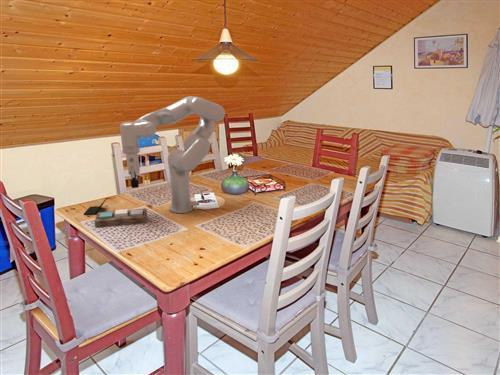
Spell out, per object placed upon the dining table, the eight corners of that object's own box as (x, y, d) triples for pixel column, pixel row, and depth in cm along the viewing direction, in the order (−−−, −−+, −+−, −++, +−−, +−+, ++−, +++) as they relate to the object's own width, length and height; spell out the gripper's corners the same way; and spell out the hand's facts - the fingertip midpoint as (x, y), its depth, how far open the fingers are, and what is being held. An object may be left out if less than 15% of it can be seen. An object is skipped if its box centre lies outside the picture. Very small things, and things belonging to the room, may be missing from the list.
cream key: (128, 213, 186) (127, 209, 185) (127, 217, 181) (127, 213, 180) (116, 214, 185) (115, 210, 184) (115, 218, 179) (114, 214, 179)
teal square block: (113, 216, 185) (112, 211, 184) (112, 220, 179) (111, 215, 179) (101, 217, 183) (100, 212, 183) (99, 221, 178) (99, 216, 177)
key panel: (146, 214, 192) (146, 208, 191) (146, 222, 181) (146, 216, 180) (98, 218, 186) (97, 211, 185) (95, 227, 175) (94, 220, 174)
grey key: (143, 214, 188) (142, 209, 187) (142, 218, 183) (142, 213, 182) (131, 215, 187) (130, 210, 186) (130, 219, 181) (130, 214, 181)
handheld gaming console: (85, 205, 199) (96, 191, 198) (98, 212, 203) (108, 198, 201) (82, 216, 189) (93, 201, 188) (95, 222, 193) (106, 208, 191)
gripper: (139, 152, 169) (143, 191, 174) (139, 145, 183) (143, 182, 188) (121, 153, 167) (126, 192, 173) (123, 146, 181) (127, 183, 187)
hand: (135, 187), depth 180 cm, fingers closed
